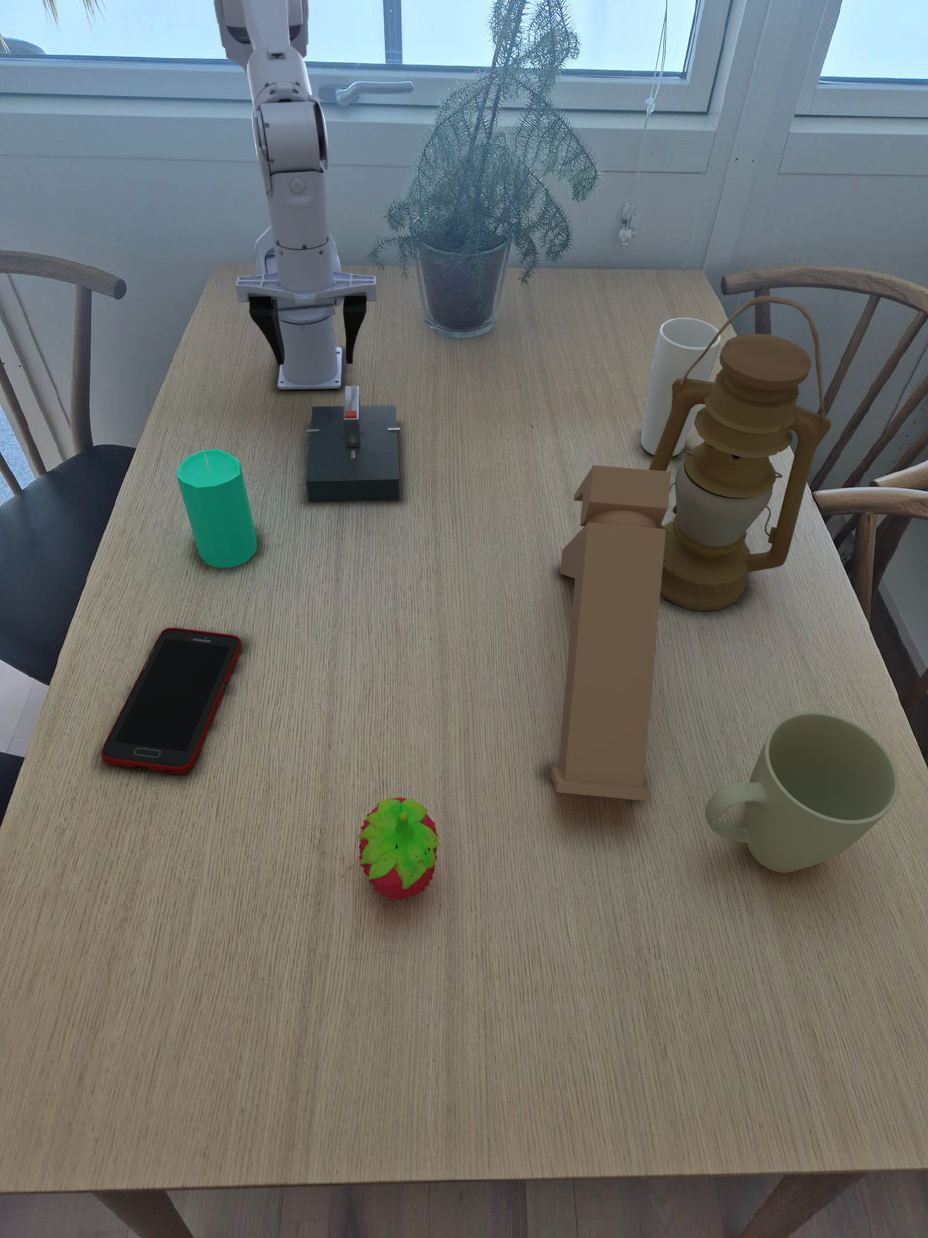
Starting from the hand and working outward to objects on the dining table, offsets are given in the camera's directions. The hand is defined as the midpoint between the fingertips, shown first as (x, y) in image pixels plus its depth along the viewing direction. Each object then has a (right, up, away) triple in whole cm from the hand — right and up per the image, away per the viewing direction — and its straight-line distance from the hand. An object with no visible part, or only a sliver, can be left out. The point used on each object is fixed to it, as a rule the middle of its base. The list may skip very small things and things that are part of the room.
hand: (315, 359), depth 93 cm
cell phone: (-9, -37, -20) cm, 43 cm away
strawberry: (+12, -49, -30) cm, 59 cm away
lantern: (+41, -25, -7) cm, 48 cm away
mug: (+41, -48, -28) cm, 69 cm away
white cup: (+41, -8, +7) cm, 42 cm away
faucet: (+29, -35, -17) cm, 48 cm away
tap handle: (+4, -7, +2) cm, 9 cm away
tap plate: (+4, -11, +3) cm, 12 cm away
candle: (-8, -22, -7) cm, 25 cm away
